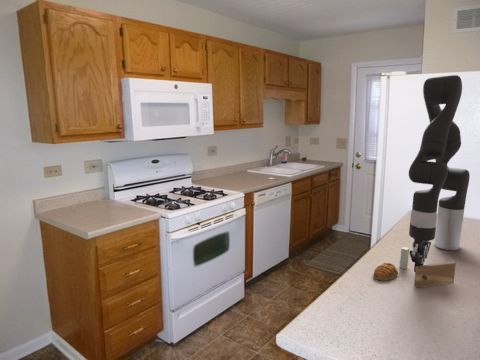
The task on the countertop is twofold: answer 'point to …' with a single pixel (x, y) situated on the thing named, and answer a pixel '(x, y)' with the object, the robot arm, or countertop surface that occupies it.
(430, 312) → the countertop surface
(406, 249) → the grey rectangular block
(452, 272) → the door
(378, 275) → the pastry
